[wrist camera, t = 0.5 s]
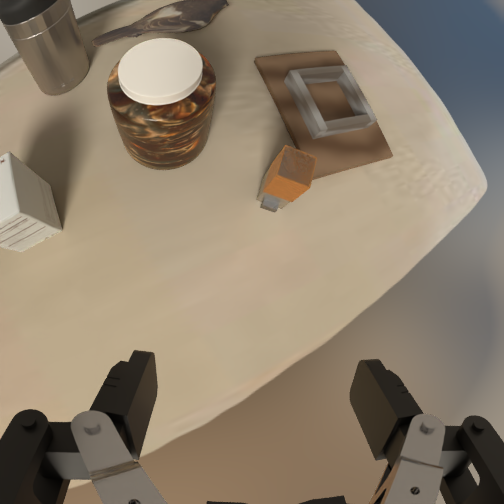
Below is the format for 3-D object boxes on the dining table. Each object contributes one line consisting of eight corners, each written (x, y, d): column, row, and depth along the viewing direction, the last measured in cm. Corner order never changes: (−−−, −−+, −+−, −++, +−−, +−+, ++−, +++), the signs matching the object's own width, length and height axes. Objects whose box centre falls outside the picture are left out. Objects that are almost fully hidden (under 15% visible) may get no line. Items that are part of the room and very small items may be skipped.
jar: (196, 91, 42) (204, 19, 27) (217, 158, 41) (234, 98, 27) (117, 110, 39) (97, 42, 24) (131, 181, 38) (107, 128, 24)
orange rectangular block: (280, 214, 42) (308, 193, 32) (253, 205, 41) (274, 181, 32) (290, 180, 43) (318, 152, 33) (264, 170, 42) (286, 139, 33)
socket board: (254, 61, 44) (259, 46, 40) (333, 54, 48) (342, 41, 44) (310, 180, 44) (321, 171, 40) (389, 157, 47) (403, 149, 43)
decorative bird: (238, 22, 45) (243, 3, 40) (104, 74, 39) (99, 55, 34) (220, 4, 45) (224, -14, 40) (92, 52, 39) (87, 33, 34)
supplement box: (10, 206, 34) (-38, 179, 22) (51, 183, 36) (10, 148, 24) (21, 254, 34) (-31, 241, 22) (64, 232, 36) (20, 211, 24)
